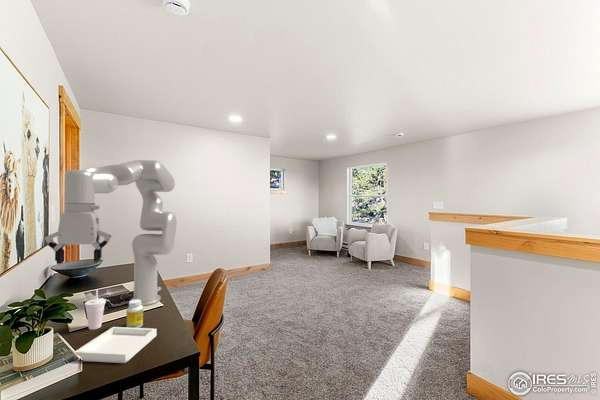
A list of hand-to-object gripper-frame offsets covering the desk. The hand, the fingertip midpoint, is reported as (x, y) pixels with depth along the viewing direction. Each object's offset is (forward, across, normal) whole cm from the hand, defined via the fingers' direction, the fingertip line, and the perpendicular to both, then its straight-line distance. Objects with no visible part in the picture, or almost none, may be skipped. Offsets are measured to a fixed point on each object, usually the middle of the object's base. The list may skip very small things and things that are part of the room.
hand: (79, 261), depth 87 cm
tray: (+28, -12, +3) cm, 31 cm away
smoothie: (+28, 0, -15) cm, 32 cm away
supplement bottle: (+28, -14, -11) cm, 33 cm away
